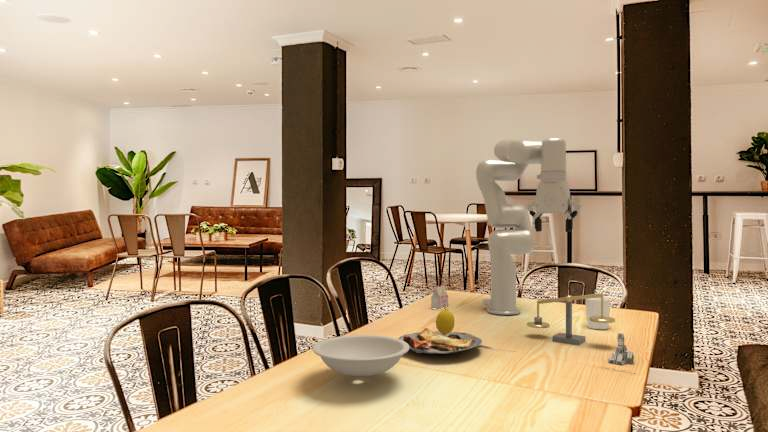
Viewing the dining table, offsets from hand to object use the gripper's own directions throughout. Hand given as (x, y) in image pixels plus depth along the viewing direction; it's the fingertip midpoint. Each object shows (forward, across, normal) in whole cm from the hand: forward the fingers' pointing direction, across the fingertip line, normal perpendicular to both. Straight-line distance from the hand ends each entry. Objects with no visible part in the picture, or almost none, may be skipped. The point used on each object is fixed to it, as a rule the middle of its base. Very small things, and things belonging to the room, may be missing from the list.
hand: (553, 231), depth 168 cm
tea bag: (+34, -51, +13) cm, 62 cm away
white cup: (+34, +7, +22) cm, 41 cm away
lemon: (+31, -22, -30) cm, 48 cm away
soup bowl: (+34, -24, -66) cm, 77 cm away
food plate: (+34, -22, -32) cm, 52 cm away
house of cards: (+34, +26, -17) cm, 46 cm away
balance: (+33, +6, -3) cm, 34 cm away
